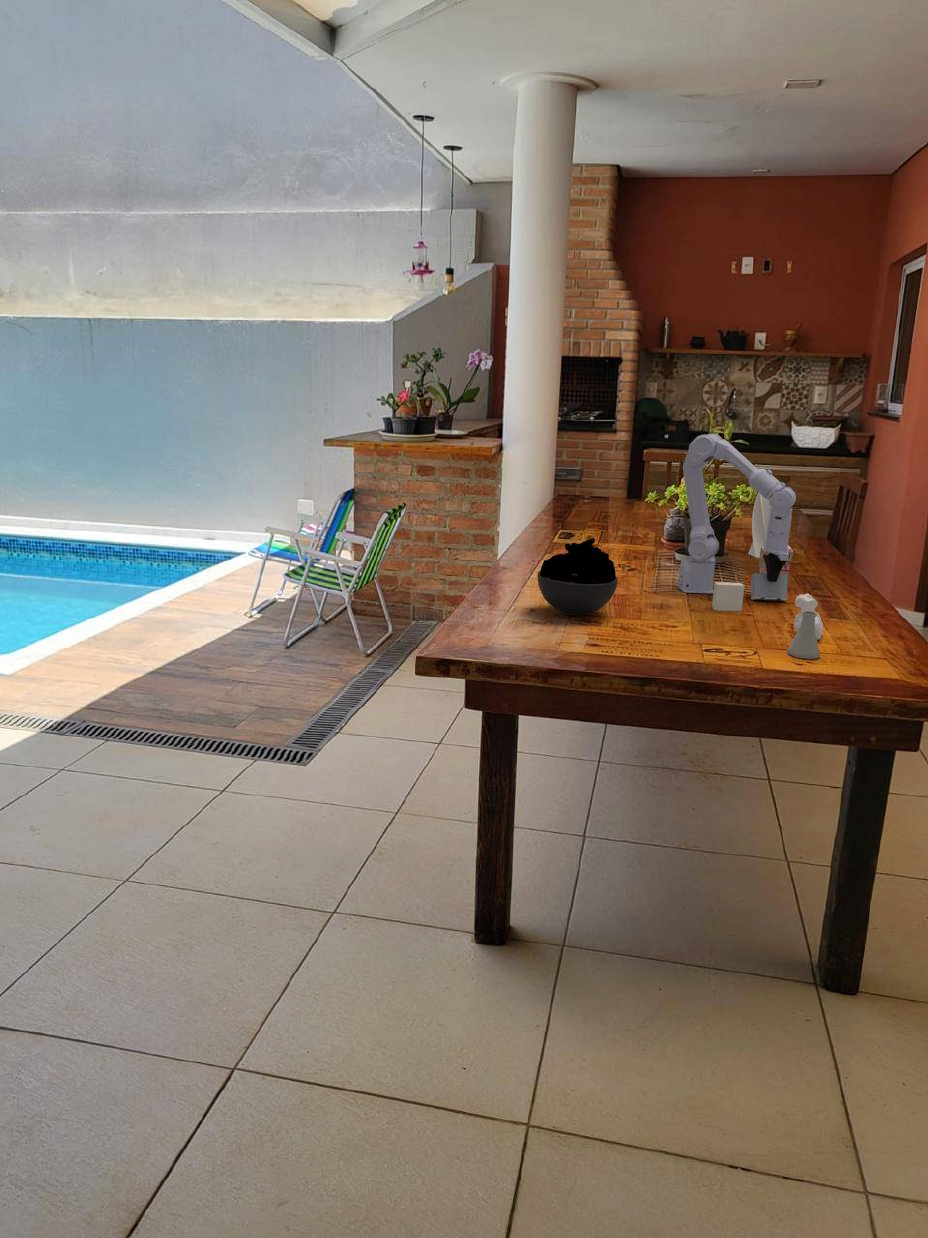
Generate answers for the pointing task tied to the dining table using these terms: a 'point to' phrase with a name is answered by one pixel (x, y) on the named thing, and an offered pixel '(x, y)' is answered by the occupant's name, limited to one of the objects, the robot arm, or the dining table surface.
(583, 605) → the coal bowl
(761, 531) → the skyscraper
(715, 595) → the light grey square block
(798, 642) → the flask
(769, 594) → the gray rectangular block
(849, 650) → the dining table surface
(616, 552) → the dining table surface
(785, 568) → the stack of blocks
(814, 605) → the bust
